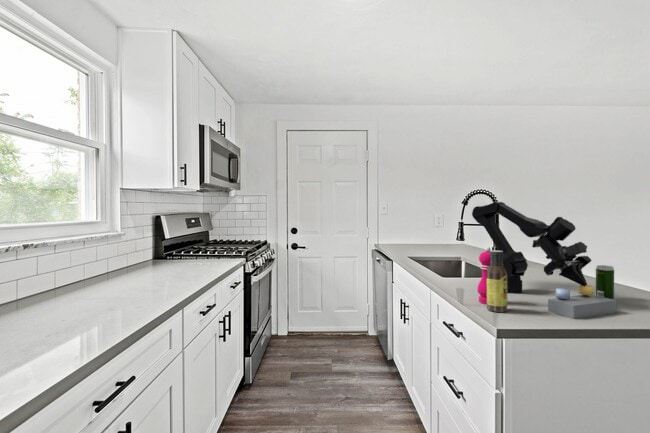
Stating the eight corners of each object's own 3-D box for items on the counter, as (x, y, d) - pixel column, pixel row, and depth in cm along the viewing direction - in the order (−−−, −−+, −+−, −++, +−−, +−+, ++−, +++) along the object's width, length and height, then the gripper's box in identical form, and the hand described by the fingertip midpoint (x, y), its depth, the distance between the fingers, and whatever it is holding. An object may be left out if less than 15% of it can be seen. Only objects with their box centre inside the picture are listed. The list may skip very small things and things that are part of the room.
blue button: (557, 308, 122) (557, 290, 122) (554, 305, 126) (554, 288, 126) (571, 309, 121) (571, 291, 121) (568, 306, 125) (568, 288, 124)
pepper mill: (498, 300, 139) (497, 246, 138) (500, 305, 132) (500, 248, 131) (476, 299, 141) (476, 245, 140) (478, 304, 134) (477, 248, 134)
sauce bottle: (508, 313, 122) (507, 252, 122) (487, 312, 125) (486, 251, 124) (506, 308, 128) (506, 250, 128) (486, 307, 130) (486, 249, 130)
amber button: (580, 304, 125) (580, 287, 125) (576, 301, 129) (577, 284, 129) (594, 305, 124) (594, 287, 124) (590, 302, 128) (590, 285, 127)
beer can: (610, 302, 134) (610, 268, 133) (593, 298, 138) (593, 266, 138) (616, 299, 137) (616, 266, 136) (599, 296, 141) (599, 264, 141)
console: (573, 318, 116) (573, 305, 115) (548, 311, 124) (548, 299, 124) (616, 312, 121) (616, 300, 121) (588, 305, 130) (588, 293, 129)
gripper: (552, 235, 126) (587, 273, 117) (585, 233, 135) (620, 268, 125) (530, 256, 134) (561, 294, 124) (563, 252, 142) (595, 287, 132)
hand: (585, 285), depth 126 cm, fingers closed, pressing on amber button
